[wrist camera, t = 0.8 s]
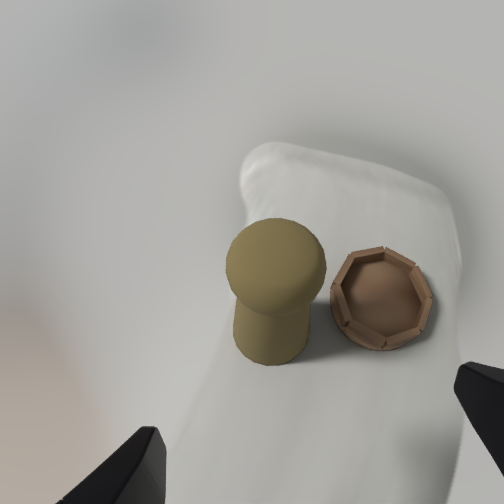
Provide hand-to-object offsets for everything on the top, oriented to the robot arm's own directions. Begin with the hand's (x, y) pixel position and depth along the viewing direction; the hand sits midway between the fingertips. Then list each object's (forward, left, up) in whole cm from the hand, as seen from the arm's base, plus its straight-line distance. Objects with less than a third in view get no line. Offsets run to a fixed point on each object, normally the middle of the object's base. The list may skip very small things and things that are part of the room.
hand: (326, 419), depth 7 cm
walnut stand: (+8, -10, -14) cm, 19 cm away
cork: (+8, -1, -14) cm, 17 cm away
